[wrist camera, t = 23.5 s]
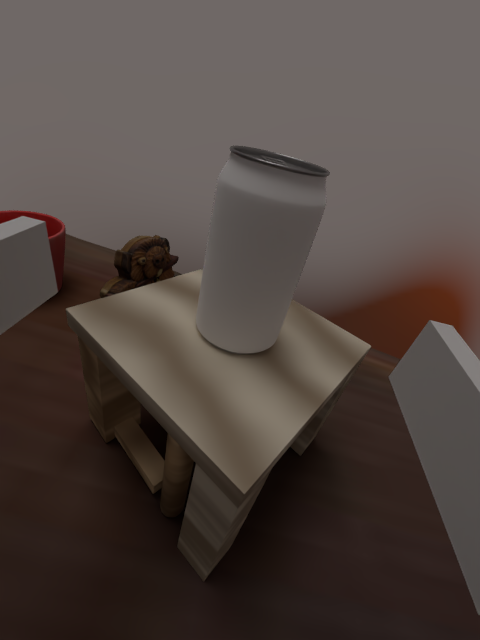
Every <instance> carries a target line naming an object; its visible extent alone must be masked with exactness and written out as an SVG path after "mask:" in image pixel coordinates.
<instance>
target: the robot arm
mask: <svg viewBox="0 0 480 640" xmlns="http://www.w3.org/2000/svg"><path fill="white" fill-rule="evenodd" d="M56 293H58V289H57V283H56V278H55V272H54V267H53V261H52V256H51V250H50V245H49V239H48V233H47V228H46V222H45V221H41V220H37V219H33V218H29V217H25V216H21V217H19V218H16V219H13V220H10V221H7V222H4V223H2V224H0V335H1V334H2V333H3V332H5V331H6V330H7V329H9V328H10V327H11V326H13V325H14V324H16V323H17V322H18V321H20V320H21V319H22V318H24V317H25V316H26V315H28V314H29V313H30V312H32V311H33V310H35V309H36V308H37V307H39V306H40V305H41V304H43V303H44V302H45V301H47V300H48V299H50V298H51V297H52V296H54V295H55V294H56ZM389 379H390V382H391V385H392V387H393V390H394V392H395V395H396V398H397V400H398V403H399V406H400V408H401V411H402V414H403V416H404V419H405V422H406V424H407V427H408V430H409V432H410V435H411V437H412V440H413V443H414V445H415V448H416V451H417V453H418V456H419V459H420V461H421V464H422V467H423V469H424V472H425V475H426V477H427V480H428V482H429V485H430V488H431V490H432V493H433V496H434V498H435V501H436V504H437V506H438V509H439V512H440V514H441V517H442V520H443V522H444V525H445V527H446V530H447V533H448V535H449V538H450V541H451V543H452V546H453V549H454V551H455V554H456V557H457V559H458V562H459V565H460V567H461V570H462V572H463V575H464V578H465V580H466V583H467V586H468V588H469V591H470V594H471V596H472V599H473V602H474V604H475V607H476V610H477V612H478V615H480V361H479V359H478V358H477V357H476V356H475V354H474V353H473V352H472V350H471V349H470V348H469V347H468V345H467V344H466V343H465V341H464V340H463V339H462V338H461V337H460V335H459V334H458V333H457V331H456V330H455V329H454V328H453V326H451V325H447V324H443V323H439V322H435V321H431V320H430V321H429V322H428V323H427V325H426V326H425V328H424V329H423V330H422V332H421V333H420V334H419V336H418V337H417V338H416V340H415V341H414V343H413V344H412V345H411V347H410V348H409V350H408V351H407V352H406V354H405V355H404V356H403V358H402V359H401V361H400V362H399V363H398V365H397V366H396V368H395V369H394V370H393V372H392V373H391V375H390V376H389Z"/></svg>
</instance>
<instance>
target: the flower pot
mask: <svg viewBox="0 0 480 640" xmlns="http://www.w3.org/2000/svg"><path fill="white" fill-rule="evenodd" d="M21 216H25V217H29V218H33V219H37V220H41V221H45V222H46V228H47V233H48V239H49V245H50V250H51V256H52V261H53V267H54V272H55V278H56V283H57V289H58V291H59V290H60V289H61V287H62V280H63V267H64V252H65V225H64V224H63V222H62V221H60V220H59V219H57V218H55V217H52V216H50V215H47V214H42V213H36V212H30V211H0V224H2V223H4V222H7V221H10V220H13V219H16V218H19V217H21Z"/></svg>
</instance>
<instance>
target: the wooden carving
mask: <svg viewBox="0 0 480 640" xmlns="http://www.w3.org/2000/svg"><path fill="white" fill-rule="evenodd" d="M169 250H170V246H169V242H168V240H167V239H166V238H161V237H160V236H157V235H155V236H154V237H150V236H137V237H135V238H133V239H131V240H130V241H129V242H128V243H127V244H126V245H125V246H124V247H123V248H122V250H117V251H116V254H115V260H114V265H115V267H116V268H117V270H118V273H119V276H117V277H115V278H113V279H111V280H109V281H108V282H107V283H106V284H105V285H104V287H103V288H102V290H101V291H100V296H101V298H104V297H108V296H111V295H115V294H118V293H122V292H125V291H128V290H132V289H135V288H139V287H142V286H146V285H149V284H152V283H156V282H159V281H163V280H166V279H170V278H173V276H174V272H173V271H172V266H173V265H174V264H176V263H177V261H178V256H173V255H170V254H169Z"/></svg>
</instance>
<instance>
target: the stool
mask: <svg viewBox="0 0 480 640" xmlns="http://www.w3.org/2000/svg"><path fill="white" fill-rule="evenodd" d="M202 274H203V269H201V270H197V271H193V272H190V273H187V274H183V275H180V276H176V277H173V278H170V279H166V280H163V281H159V282H156V283H152V284H149V285H146V286H142V287H139V288H135V289H132V290H128V291H125V292H122V293H118V294H115V295H111V296H108V297H104V298H101V299H98V300H94V301H91V302H87V303H84V304H81V305H77V306H74V307H70V308H67V309H66V314H67V320H68V325H69V327H70V328H71V329H72V330H73V331H74V332H75V333H76V334H77V335H78V336H79V337H80V338H81V339H82V341H83V342H84V343H85V344H86V345H87V346H88V347H89V348H90V349H91V350H92V351H93V352H94V354H95V355H96V356H97V357H98V358H99V359H100V360H101V361H102V362H103V363H104V364H105V365H106V367H107V368H108V369H109V370H110V371H111V372H112V373H113V374H114V375H115V376H116V377H117V378H118V379H119V381H120V382H121V383H122V384H123V385H124V386H125V387H126V388H127V389H128V390H129V391H130V392H131V394H132V395H133V396H134V397H135V398H136V399H137V400H138V401H139V402H140V403H141V404H142V405H143V406H144V408H145V409H146V410H147V411H148V412H149V413H150V414H151V415H152V416H153V417H154V418H155V419H156V421H157V422H158V423H159V424H160V425H161V426H162V427H163V428H164V429H165V430H166V431H167V432H168V434H169V435H170V436H171V437H172V438H173V439H174V440H175V441H176V442H177V443H178V444H179V445H180V446H181V448H182V449H183V450H184V451H185V452H186V453H187V454H188V455H189V456H190V457H191V458H192V459H193V461H194V462H195V463H196V466H195V470H194V474H193V479H192V483H191V488H190V492H189V496H188V501H187V505H186V509H185V514H184V518H183V523H182V527H181V531H180V536H179V540H178V545H177V547H178V549H179V550H180V551H181V553H182V554H183V555H184V557H185V558H186V559H187V560H188V562H189V563H190V564H191V566H192V567H193V568H194V570H195V571H196V572H197V574H198V575H199V576H200V578H201V579H202V580H203V582H204V581H205V579H206V578H207V577H208V576H209V574H210V573H211V572H212V570H213V569H214V568H215V566H216V565H217V564H218V563H219V561H220V560H221V559H222V557H223V556H224V555H225V553H226V552H227V551H228V550H229V548H230V547H231V545H232V544H233V542H234V540H235V538H236V536H237V534H238V532H239V530H240V528H241V527H242V525H243V523H244V521H245V519H246V517H247V515H248V513H249V511H250V509H251V508H252V506H253V504H254V502H255V500H256V498H257V496H258V494H259V492H260V491H261V489H262V487H263V485H264V483H265V481H266V479H267V477H268V475H269V473H270V472H271V470H272V468H273V466H274V465H275V464H276V462H277V461H278V460H279V459H280V458H281V457H282V455H283V454H284V453H285V452H286V451H287V449H288V448H289V447H291V448H292V449H293V450H294V451H295V452H297V453H298V454H299V455H300V456H301V455H302V454H303V452H304V451H305V450H306V448H307V447H308V446H309V444H310V443H311V442H312V441H313V439H314V438H315V436H316V435H317V433H318V431H319V430H320V428H321V427H322V425H323V423H324V422H325V420H326V418H327V417H328V415H329V414H330V412H331V410H332V409H333V407H334V406H335V404H336V402H337V401H338V399H339V397H340V396H341V394H342V393H343V391H344V389H345V388H346V386H347V385H348V383H349V381H350V380H351V378H352V376H353V375H354V373H355V372H356V370H357V368H358V367H359V365H360V363H361V362H362V360H363V359H364V357H365V355H366V354H367V352H368V351H369V349H370V347H371V345H369V344H367V343H365V342H364V341H362V340H360V339H359V338H357V337H355V336H353V335H352V334H350V333H348V332H347V331H345V330H343V329H342V328H340V327H338V326H337V325H335V324H333V323H331V322H330V321H328V320H326V319H324V318H323V317H321V316H319V315H318V314H316V313H314V312H313V311H311V310H309V309H308V308H306V307H304V306H302V305H301V304H299V303H297V302H296V301H294V300H292V301H291V303H290V306H289V309H288V311H287V314H286V317H285V319H284V322H283V325H282V327H281V330H280V332H279V335H278V337H277V340H276V342H275V343H274V344H273V345H272V346H271V347H270V348H268V349H266V350H264V351H261V352H259V353H254V354H233V353H229V352H226V351H224V350H221V349H219V348H217V347H215V346H214V345H212V344H211V343H210V342H208V341H207V340H206V339H205V338H204V336H203V335H202V334H201V333H200V331H199V330H198V328H197V325H196V315H197V307H198V300H199V294H200V287H201V280H202Z"/></svg>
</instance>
